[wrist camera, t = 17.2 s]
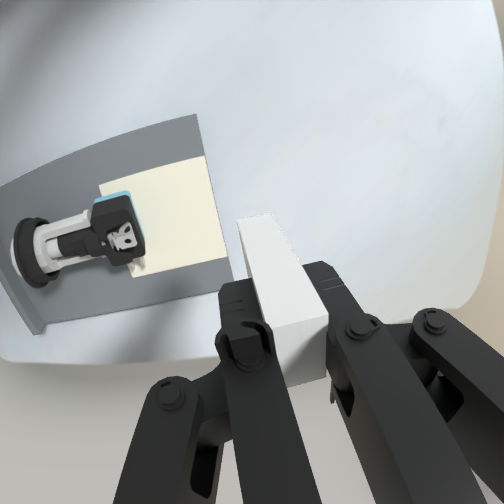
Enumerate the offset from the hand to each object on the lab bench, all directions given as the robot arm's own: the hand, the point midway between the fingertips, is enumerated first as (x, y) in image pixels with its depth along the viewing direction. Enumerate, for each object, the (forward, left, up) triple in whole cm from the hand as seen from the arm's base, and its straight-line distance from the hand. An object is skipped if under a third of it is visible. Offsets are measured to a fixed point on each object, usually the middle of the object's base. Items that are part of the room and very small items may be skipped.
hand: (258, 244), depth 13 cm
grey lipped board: (+1, -12, -10) cm, 16 cm away
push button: (+1, -7, -7) cm, 10 cm away
